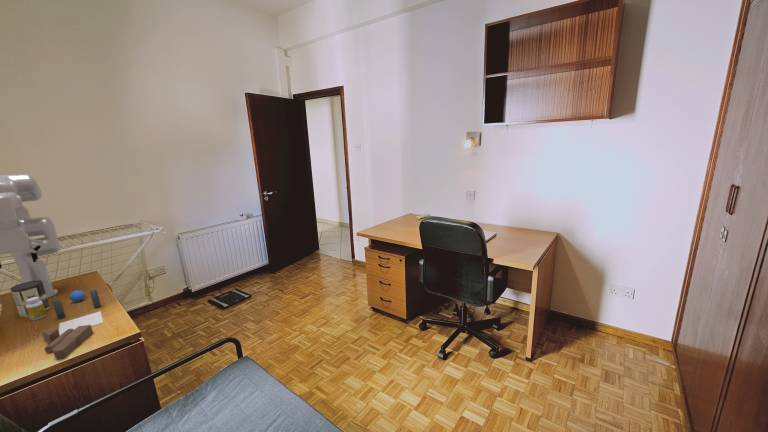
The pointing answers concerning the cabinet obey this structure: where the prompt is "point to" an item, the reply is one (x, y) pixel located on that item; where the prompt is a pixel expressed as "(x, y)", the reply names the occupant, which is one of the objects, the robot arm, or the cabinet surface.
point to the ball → (77, 296)
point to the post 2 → (95, 298)
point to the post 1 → (58, 308)
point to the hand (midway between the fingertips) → (18, 264)
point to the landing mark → (81, 322)
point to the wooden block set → (65, 340)
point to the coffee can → (29, 295)
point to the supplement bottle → (35, 308)
